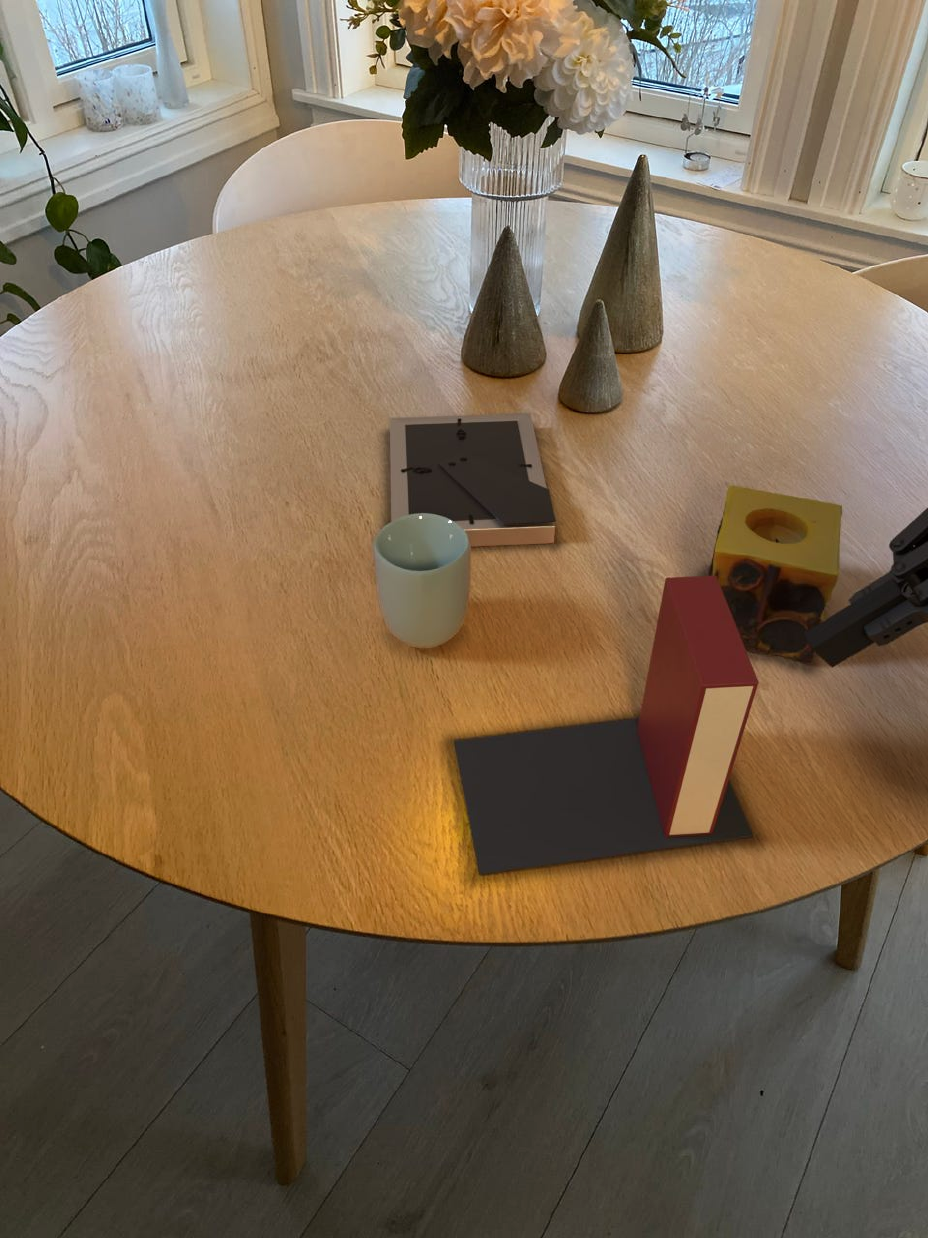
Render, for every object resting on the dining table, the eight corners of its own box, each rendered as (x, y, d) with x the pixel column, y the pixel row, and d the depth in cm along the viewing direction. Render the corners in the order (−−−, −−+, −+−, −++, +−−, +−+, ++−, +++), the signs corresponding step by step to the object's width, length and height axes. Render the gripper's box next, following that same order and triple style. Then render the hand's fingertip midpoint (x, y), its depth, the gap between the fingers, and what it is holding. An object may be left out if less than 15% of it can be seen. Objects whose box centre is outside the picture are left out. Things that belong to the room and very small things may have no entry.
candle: (811, 667, 81) (842, 578, 75) (691, 640, 84) (712, 551, 77) (819, 592, 88) (848, 504, 82) (708, 569, 91) (728, 482, 84)
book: (636, 730, 76) (665, 577, 65) (680, 727, 76) (716, 575, 65) (664, 837, 69) (702, 685, 58) (712, 835, 69) (759, 682, 58)
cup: (487, 629, 85) (489, 541, 78) (423, 675, 81) (419, 585, 74) (426, 588, 89) (423, 501, 82) (363, 630, 85) (353, 541, 78)
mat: (697, 713, 78) (698, 710, 77) (753, 837, 69) (753, 835, 69) (453, 743, 75) (453, 740, 75) (479, 875, 67) (479, 873, 67)
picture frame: (553, 543, 94) (529, 428, 109) (555, 520, 92) (530, 406, 107) (392, 550, 93) (390, 433, 108) (391, 526, 91) (389, 411, 106)
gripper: (1288, 533, 50) (882, 750, 61) (1144, 403, 60) (815, 611, 70) (1247, 451, 46) (821, 699, 57) (1100, 326, 56) (759, 558, 67)
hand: (818, 650), depth 64 cm, fingers closed
